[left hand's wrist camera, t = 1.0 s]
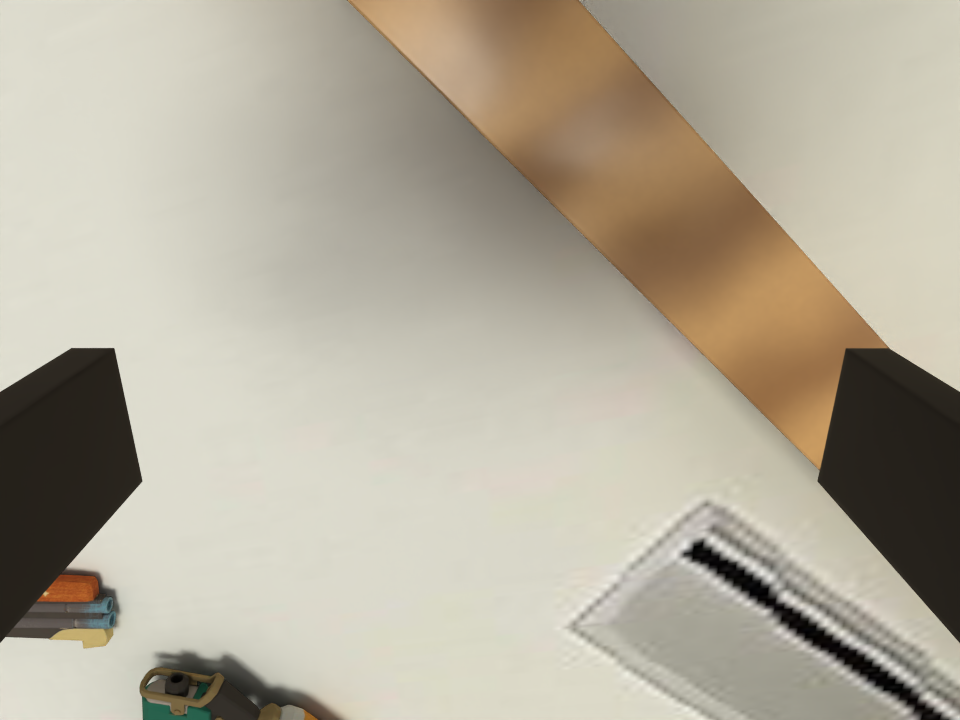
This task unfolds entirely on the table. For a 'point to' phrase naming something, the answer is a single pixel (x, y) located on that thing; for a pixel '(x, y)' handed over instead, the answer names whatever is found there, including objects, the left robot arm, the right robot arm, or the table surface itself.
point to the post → (640, 192)
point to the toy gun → (70, 613)
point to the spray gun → (205, 700)
